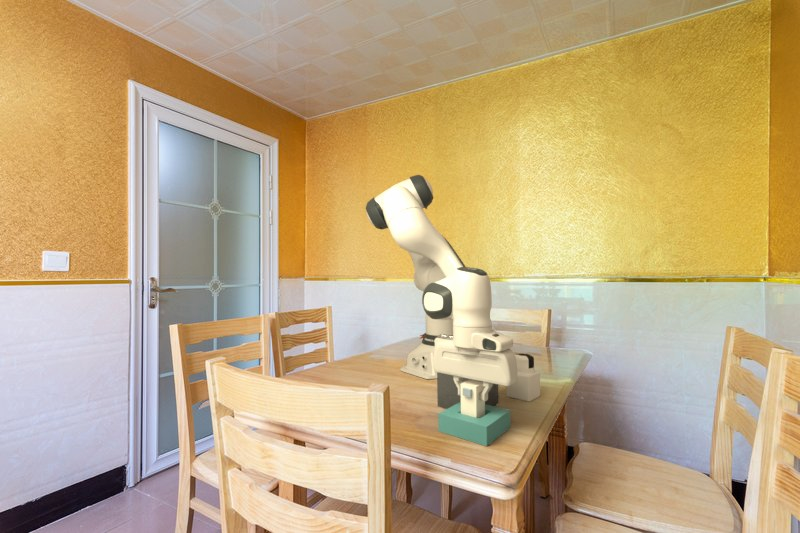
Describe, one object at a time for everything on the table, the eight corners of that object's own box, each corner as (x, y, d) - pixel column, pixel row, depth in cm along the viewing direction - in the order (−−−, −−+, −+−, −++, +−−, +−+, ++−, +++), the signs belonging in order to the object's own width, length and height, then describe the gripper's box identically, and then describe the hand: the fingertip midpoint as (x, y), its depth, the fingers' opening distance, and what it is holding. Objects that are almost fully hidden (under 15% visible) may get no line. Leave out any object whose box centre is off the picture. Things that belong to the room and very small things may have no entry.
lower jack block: (438, 431, 86) (438, 413, 86) (465, 415, 95) (464, 399, 95) (486, 446, 78) (486, 427, 79) (510, 427, 88) (510, 410, 88)
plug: (459, 424, 86) (458, 384, 86) (469, 417, 90) (469, 379, 90) (474, 428, 83) (474, 387, 84) (485, 421, 87) (484, 382, 87)
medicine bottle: (518, 390, 114) (517, 351, 114) (540, 396, 109) (540, 354, 109) (505, 396, 109) (505, 354, 109) (529, 402, 104) (528, 358, 104)
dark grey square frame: (437, 406, 102) (437, 369, 102) (460, 394, 111) (459, 360, 111) (477, 416, 94) (477, 376, 94) (498, 403, 103) (498, 366, 104)
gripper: (427, 334, 91) (428, 392, 91) (507, 345, 78) (508, 412, 78) (442, 331, 96) (442, 385, 96) (520, 340, 83) (520, 403, 83)
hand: (472, 397), depth 87 cm, fingers closed on plug, 4 cm apart
